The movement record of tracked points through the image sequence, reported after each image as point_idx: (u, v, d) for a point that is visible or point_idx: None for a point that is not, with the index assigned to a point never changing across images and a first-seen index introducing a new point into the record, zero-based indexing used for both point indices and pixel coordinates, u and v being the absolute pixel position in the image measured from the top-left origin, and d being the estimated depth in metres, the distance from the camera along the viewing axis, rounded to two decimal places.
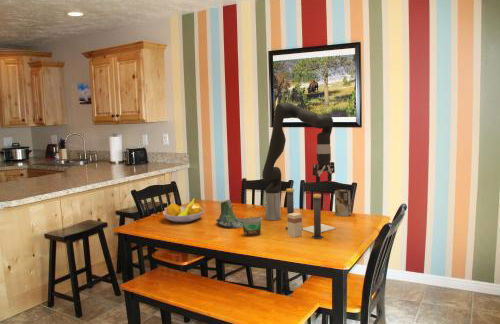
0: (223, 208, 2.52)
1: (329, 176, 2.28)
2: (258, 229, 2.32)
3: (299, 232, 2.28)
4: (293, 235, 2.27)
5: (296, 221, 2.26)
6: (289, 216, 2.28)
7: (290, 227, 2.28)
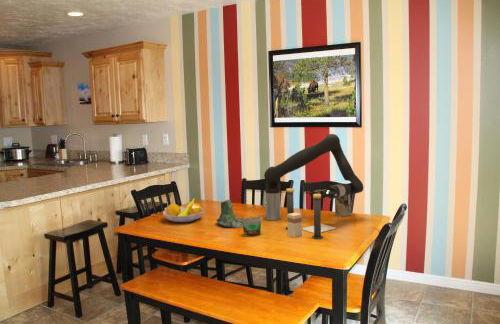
0: (223, 208, 2.53)
1: None
2: (258, 229, 2.32)
3: (299, 232, 2.28)
4: (293, 235, 2.27)
5: (296, 221, 2.26)
6: (289, 216, 2.28)
7: (290, 227, 2.28)
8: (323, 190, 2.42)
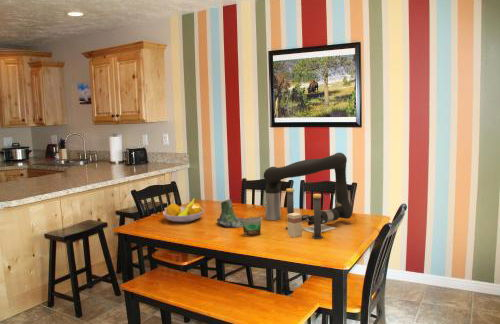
0: (223, 208, 2.53)
1: None
2: (258, 229, 2.32)
3: (299, 232, 2.28)
4: (293, 235, 2.27)
5: (296, 221, 2.26)
6: (289, 216, 2.28)
7: (290, 227, 2.28)
8: (311, 216, 2.38)
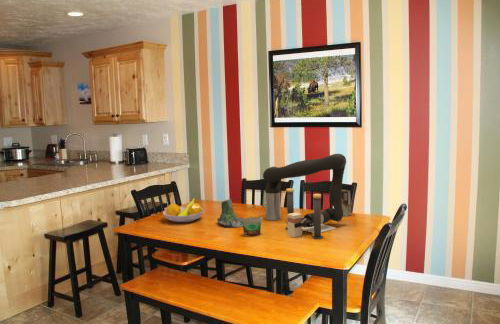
0: (223, 207, 2.54)
1: None
2: (258, 229, 2.32)
3: (299, 232, 2.28)
4: (293, 235, 2.27)
5: (296, 221, 2.26)
6: (289, 216, 2.28)
7: (290, 227, 2.28)
8: None
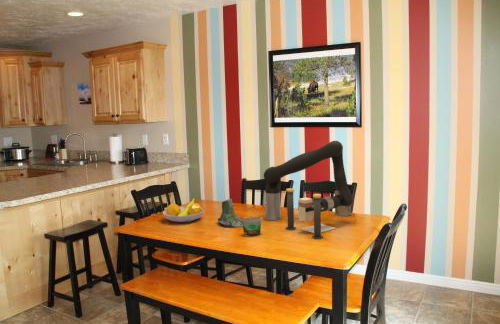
0: (224, 207, 2.55)
1: None
2: (258, 229, 2.32)
3: (310, 216, 2.32)
4: (304, 219, 2.30)
5: (307, 205, 2.30)
6: (300, 201, 2.32)
7: (301, 211, 2.32)
8: None
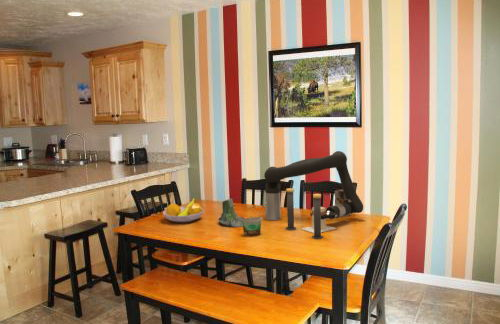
0: (224, 207, 2.56)
1: None
2: (258, 229, 2.32)
3: (323, 225, 2.38)
4: None
5: None
6: (313, 210, 2.38)
7: None
8: None
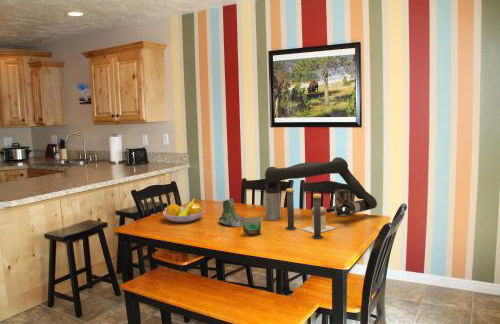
0: (224, 206, 2.56)
1: (330, 211, 2.50)
2: (258, 229, 2.32)
3: (323, 225, 2.38)
4: None
5: None
6: (313, 210, 2.38)
7: None
8: (339, 207, 2.51)
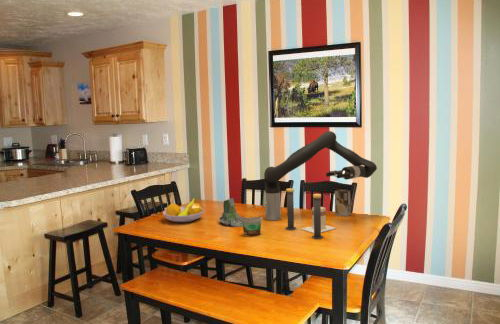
0: (225, 206, 2.57)
1: (330, 174, 2.48)
2: (258, 229, 2.32)
3: (323, 225, 2.38)
4: None
5: None
6: (313, 210, 2.38)
7: None
8: (339, 171, 2.48)
